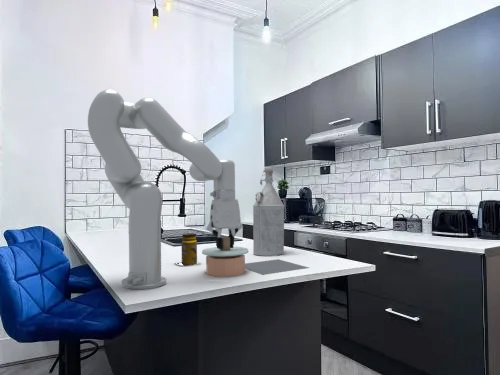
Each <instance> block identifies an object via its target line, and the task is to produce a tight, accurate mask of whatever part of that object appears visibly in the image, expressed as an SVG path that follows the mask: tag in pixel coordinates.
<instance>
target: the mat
mask: <svg viewBox="0 0 500 375" xmlns="http://www.w3.org/2000/svg"><path fill="white" fill-rule="evenodd" d="M304 269H310V267H309V266H304V265H300V264H297V263H294V262H290V261H288V260H287V261H285V260H283V259H278V258H277V259H271V260H270V259H268V260H263V261H262V260H261V261H255V262H254V261H253V262H247V263H246V262H245V270H247V271H251V272H253V273H256V274H258V275H262V276H264V275H271V274H278V273H283V272H291V271H292V272H293V271H297V270H304Z"/></svg>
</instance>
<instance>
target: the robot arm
mask: <svg viewBox="0 0 500 375" xmlns="http://www.w3.org/2000/svg"><path fill="white" fill-rule="evenodd" d="M87 128H88V131H89V132H88V133H89V135H90V138H91V140H92V143H93V145H94V146H95V148H96V149H97V151H98V153H99V154H100V156H101V158H102V160H103V161H104V163H105V164H104V173H105V175H106V177H107V180H108V182H109V184H110V185H111V186H112V188H113V189H114V191H115V192H116V194H117V195H118V196H119V197H118V198H120V200H121V201H122V203H123V204H124V205H125V207H126V208H127V209H129V214H128V273H127V274H128V276H127V277H125V278H122V280H121V284H122V285H123V287H124V288H126V289H130V290H146V289H147V290H149V289H154V288H159V287H161V286H164V285H166V283H167V278H166V277H164V276H162V233H161V232H162V229H161V228H162V227H161V225H162V223H161V222H162V209H163V194H162V192H161V189H160V188H159V187H158V186H157V185H156V184H154V183H152V182H150V181H145V180H144V179H143V177H142V175H141V173H142V165H141V161H140V159H139V158H138V157H137V156H136V153H135V152H134V151H133V149H132V147H131V146H130V144H129V143H128V141H127V139H126V137H125V136H124V133H123V132H122V129H121V128H123V129H124V128H125V129H131V130H133V129H135V130H145V129H146V130H147V131H148V132H149V133H150V134H151V135H152V136H153V137H154V138H155V139H156V140H157V141H158V142H159V143H160V145H161V146H163V148H164V149H166V150H168V151H170V152H172V153H176V154H177V155H181V156H182V157H184V158H185V159H186V160H188V161H189V162H190V163H191V164H190V167H189V170H188V171H189V176H190V177H191V178H192V179H194V180H195V181H198V182H208V181H213V191H212V192H210V193H209V195H210V196H209V197H212V198H213V199H212V200H211V203H210V210H209V211H210V213H209V222H208V224H207V226H206V231H208V232H210V233H212V235H213V236H214V237H215V246H216V247H217V248H218V249H223V239H222V237H223V236H222V231H223V229H227V230H228V236H227V237H230V248H233V247H234V245H235V237H236V234H237V233H238V232H239V231H240V230H242V228H243V224H242V223H241V222H242V221H241V210H240V205H239V199H236V164H235V162H234V161H233V160H231V159H219V158H218V156H216V154H214V152H213V151H212V150H211V149H210V148H209V147H208V146H207V145H206V144H205V143H204V142H202V141H201V140H199V139H198V138H196V137H195V136H194V135H192V134H190V133H189V132H188V131H186V130H185V129H184V128H183V127H182V126H181V125H180V124H179V123H178V122H177V121H176V120H175V119H174V117H172V115H171V114H170V113H169V112H168V111H167V110H166V109H165V108H164V107H163V106H162V105H161V104H160V103H159V102H158V101H157V100H156V99H155V98H153V97H143V98H140V99H139V100H138V101H136V102H125V101H124V98H123V97H122V96H121V94H120V93H119V92H118V91H116V90H114V89H105V90H101V91H100V92H99V93H97V95H95V97H94V98H93V99H92V102H91V104H90V106H89V109H88V114H87Z"/></svg>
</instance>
